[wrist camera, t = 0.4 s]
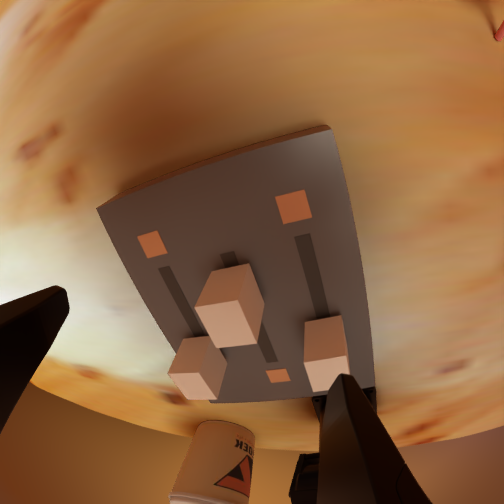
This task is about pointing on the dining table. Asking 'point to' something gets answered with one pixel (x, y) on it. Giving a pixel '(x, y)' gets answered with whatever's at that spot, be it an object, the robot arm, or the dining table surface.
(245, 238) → the switch unit
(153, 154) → the dining table surface
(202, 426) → the coffee cup
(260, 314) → the slider
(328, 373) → the slider
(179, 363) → the slider
